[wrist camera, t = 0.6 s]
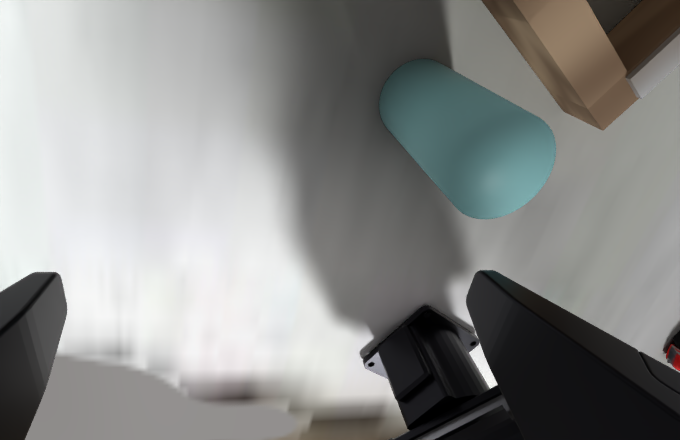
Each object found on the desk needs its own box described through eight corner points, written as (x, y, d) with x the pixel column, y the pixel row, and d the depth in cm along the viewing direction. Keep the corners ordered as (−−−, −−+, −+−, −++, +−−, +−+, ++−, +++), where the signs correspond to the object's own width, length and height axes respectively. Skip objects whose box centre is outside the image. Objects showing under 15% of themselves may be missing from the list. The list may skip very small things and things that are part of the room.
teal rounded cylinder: (470, 95, 22) (575, 159, 15) (414, 153, 23) (489, 236, 16) (421, 40, 20) (517, 86, 13) (362, 106, 21) (424, 180, 14)
